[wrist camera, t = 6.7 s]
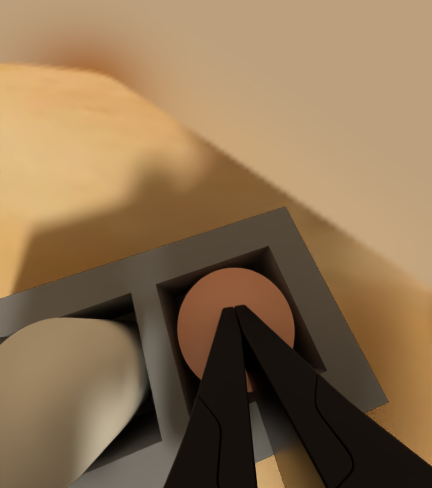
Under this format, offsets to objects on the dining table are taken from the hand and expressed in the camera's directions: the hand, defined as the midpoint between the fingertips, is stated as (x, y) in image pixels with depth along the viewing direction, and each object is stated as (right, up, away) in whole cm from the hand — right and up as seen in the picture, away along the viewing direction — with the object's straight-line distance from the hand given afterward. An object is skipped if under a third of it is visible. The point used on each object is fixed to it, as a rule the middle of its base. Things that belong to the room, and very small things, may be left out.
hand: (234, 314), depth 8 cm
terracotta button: (0, -2, +4) cm, 5 cm away
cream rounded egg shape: (-6, -3, +2) cm, 7 cm away
